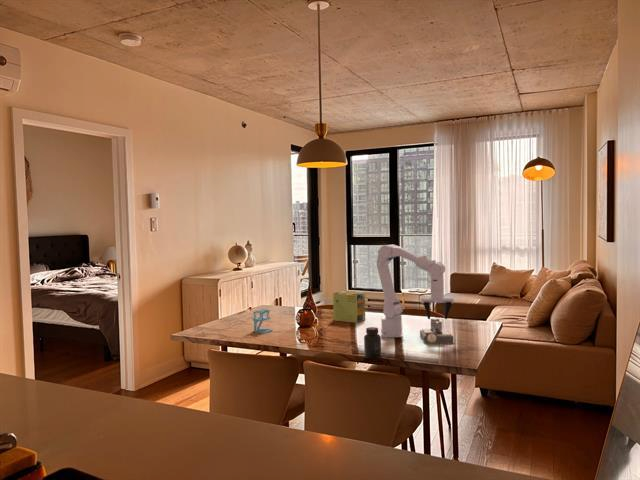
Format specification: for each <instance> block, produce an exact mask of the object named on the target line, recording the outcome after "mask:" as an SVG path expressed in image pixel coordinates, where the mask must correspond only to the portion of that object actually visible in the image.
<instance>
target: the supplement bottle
mask: <svg viewBox="0 0 640 480" xmlns="http://www.w3.org/2000/svg"><path fill="white" fill-rule="evenodd" d="M365 333H366V334H365V335H364V336H363V344H364V345H363V346H364V347H363V348H364V349H363V350H364V351H363V352H364V358H365V359H367V360H378V359H381V357H382V338H381V337H382V336H381V334H379V328H378V327H374V326H372V327H367V328H365Z"/></svg>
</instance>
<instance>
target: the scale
mask: <svg viewBox="0 0 640 480" xmlns="http://www.w3.org/2000/svg"><path fill="white" fill-rule="evenodd" d="M419 337H420V339H421V340H422V342H423V343H424V344H426V345H438V344H454V335H452V333H451V332H450V330H448V329H446V328H442V334H437V332H433V331H432V330H431V328H422V329H420V330H419Z"/></svg>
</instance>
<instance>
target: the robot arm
mask: <svg viewBox="0 0 640 480" xmlns="http://www.w3.org/2000/svg"><path fill="white" fill-rule="evenodd" d="M377 254H378V255H377V259H376V267H377V271H378V275H379V280H380V283H381V287H382V288H381V289H382V292H383V296H384V301H383V304H382V305H383V310H382V311H383V314H384V316H385V317H381V330H380V334H381V335H382V336H381V337H382V338H403V334H402V320H401V319H402V317H401V314H402V313H403V311H404V307H403V305H402V303H401V302H400V299H399V298H398V297H397V295H396V291H395V287H394V283H393V280H392V275H391V272H390V266H389V264H390V263H391V261H392V260H393V259H394V258H396V257H401V258H403V259H406V260H408V261H410V262H412V263H414V264H415V267H416V268H417V267H418V268H420V269H421V270H423V271H425V272H428V273H429V275H430V297H427V298H420V303H421V304H422V305H423V307H424V309H425V312H426V315H427V319H428V320H431V312H430V311H431V304H443V305H444V320H447V319H448V316H449V313H450V310H451V308H452V305H453V304H454V302H455V300H454V298H452V297H451V298H449V297H444V293H445V291H444V280H445V279H444V274H445V272H446V267H445V265H444V263H442V262H441V261H438V262H436V260H435V259H434V260H433V259H431V258H428V257H427V255H426V254H423V255H422V254H421V255H416V253H413V252H411V251H409V250H407V249H406V248H403V247H401V246H399V245H396V244H393V243H392V244H383V245H382V246H380V248H379V249H378V250H377Z"/></svg>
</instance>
